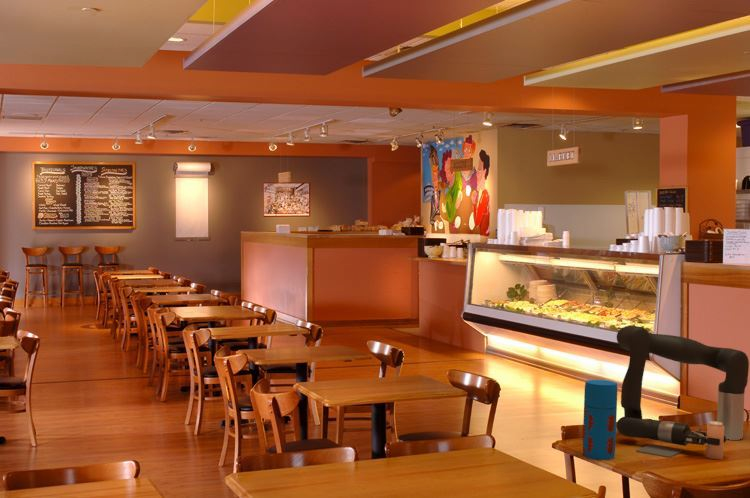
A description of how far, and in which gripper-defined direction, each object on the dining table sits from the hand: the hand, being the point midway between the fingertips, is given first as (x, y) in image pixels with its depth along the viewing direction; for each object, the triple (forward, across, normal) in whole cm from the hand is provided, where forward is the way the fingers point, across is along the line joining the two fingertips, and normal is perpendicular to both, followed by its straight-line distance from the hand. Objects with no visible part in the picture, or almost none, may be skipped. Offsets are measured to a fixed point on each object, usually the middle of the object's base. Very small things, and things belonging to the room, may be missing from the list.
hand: (722, 440), depth 323 cm
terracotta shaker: (-3, 0, +6) cm, 7 cm away
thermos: (-33, -27, +6) cm, 43 cm away
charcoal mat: (-20, -6, +6) cm, 21 cm away
